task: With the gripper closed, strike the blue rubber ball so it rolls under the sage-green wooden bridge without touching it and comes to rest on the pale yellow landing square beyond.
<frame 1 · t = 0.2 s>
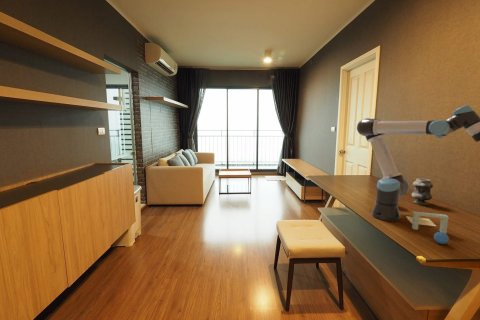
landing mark: (420, 221, 144), on the table
bridge: (428, 230, 131), on the table
apothecary jar: (420, 203, 179), on the table
ball: (441, 237, 116), on the table
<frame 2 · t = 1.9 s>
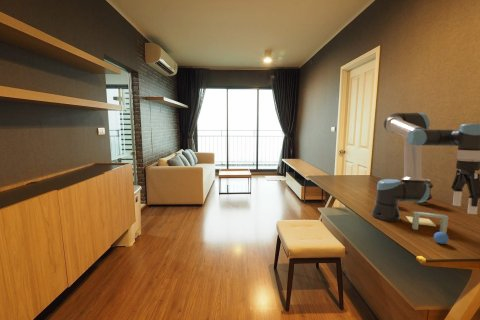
hand: (463, 209, 105), 20 cm above the table, tool pointing down, fingers open, 13 cm apart
nothing on the table moved.
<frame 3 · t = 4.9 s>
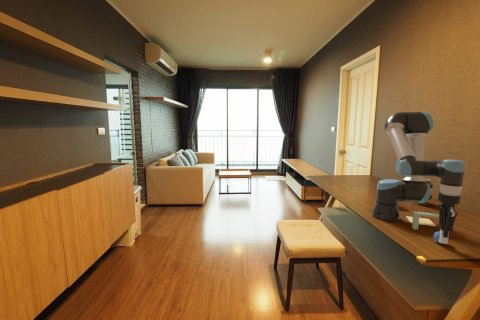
hand: (443, 242, 113), 2 cm above the table, tool pointing down, fingers closed
ball: (440, 237, 116), on the table, touching gripper
everything else where it was.
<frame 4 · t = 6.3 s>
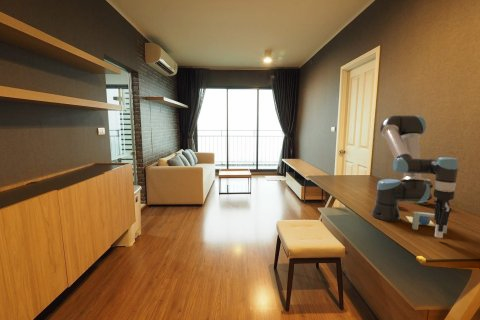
hand: (438, 236, 119), 2 cm above the table, tool pointing down, fingers closed
ball: (423, 220, 138), on the table
everything else where it was.
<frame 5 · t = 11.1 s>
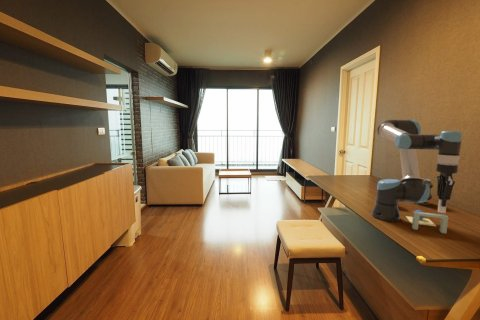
hand: (441, 212, 117), 14 cm above the table, tool pointing down, fingers closed
ball: (418, 214, 147), on the table
everything else where it was.
at the end: ball 3.7 cm from the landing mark (horizontally); ball never touched bridge; ball at rest at the end (0.0 cm/s) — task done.
